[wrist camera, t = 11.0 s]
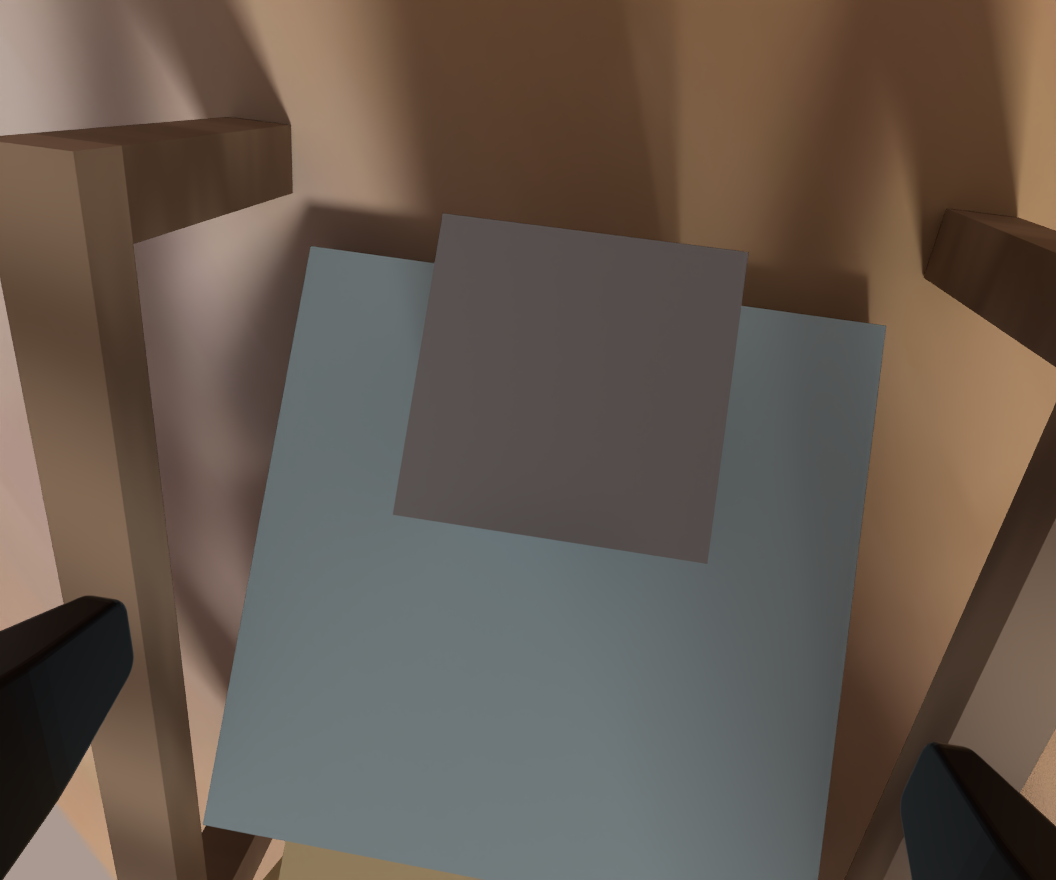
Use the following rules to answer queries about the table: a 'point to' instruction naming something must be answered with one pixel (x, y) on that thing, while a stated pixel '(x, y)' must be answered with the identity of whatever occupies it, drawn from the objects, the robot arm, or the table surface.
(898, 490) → the table surface
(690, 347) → the stone
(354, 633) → the trapdoor
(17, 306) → the frame
